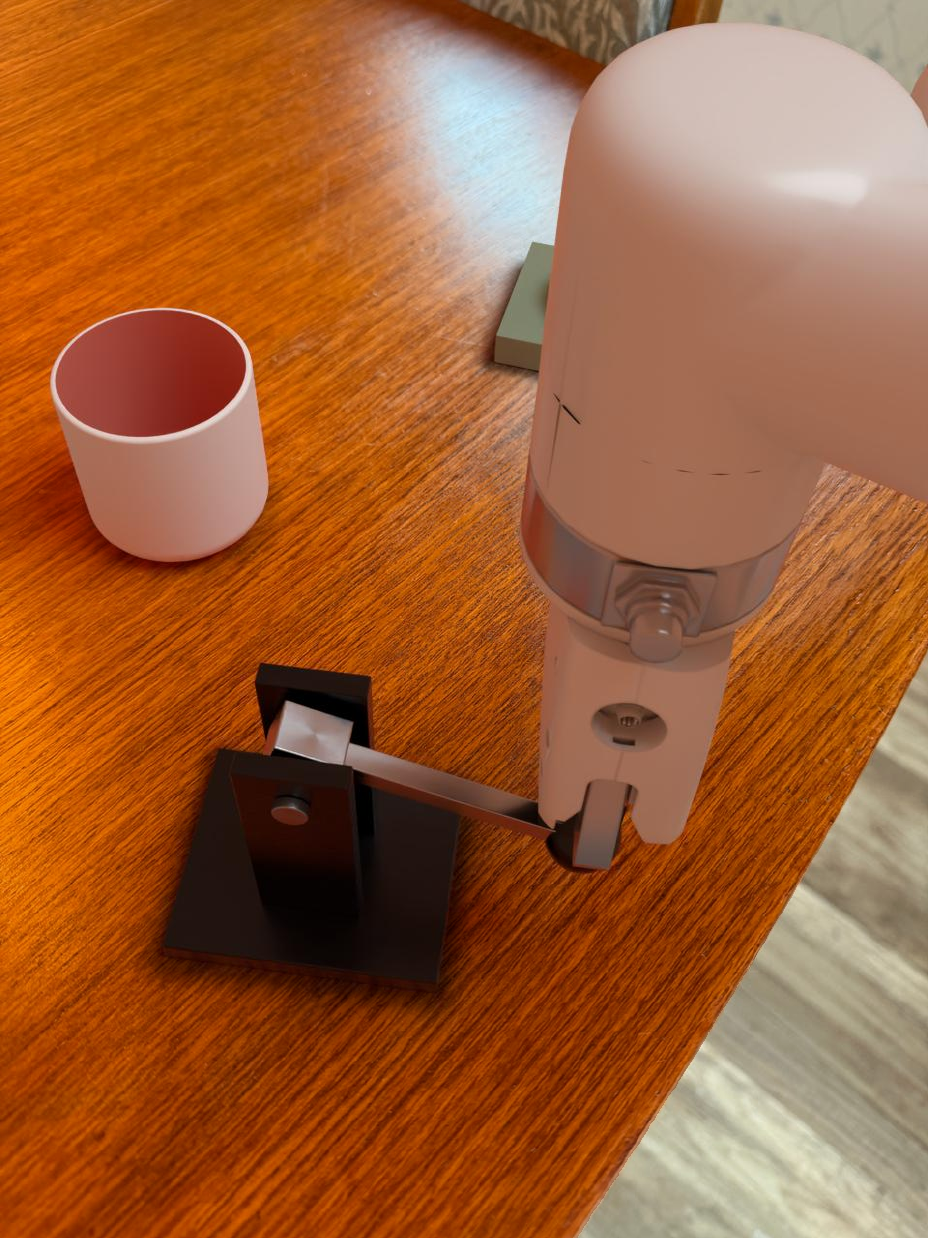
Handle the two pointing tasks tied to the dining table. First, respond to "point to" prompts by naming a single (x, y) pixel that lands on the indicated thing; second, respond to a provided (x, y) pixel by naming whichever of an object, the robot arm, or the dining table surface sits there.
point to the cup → (163, 431)
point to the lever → (411, 778)
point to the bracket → (315, 858)
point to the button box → (526, 312)
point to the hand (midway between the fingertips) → (578, 814)
